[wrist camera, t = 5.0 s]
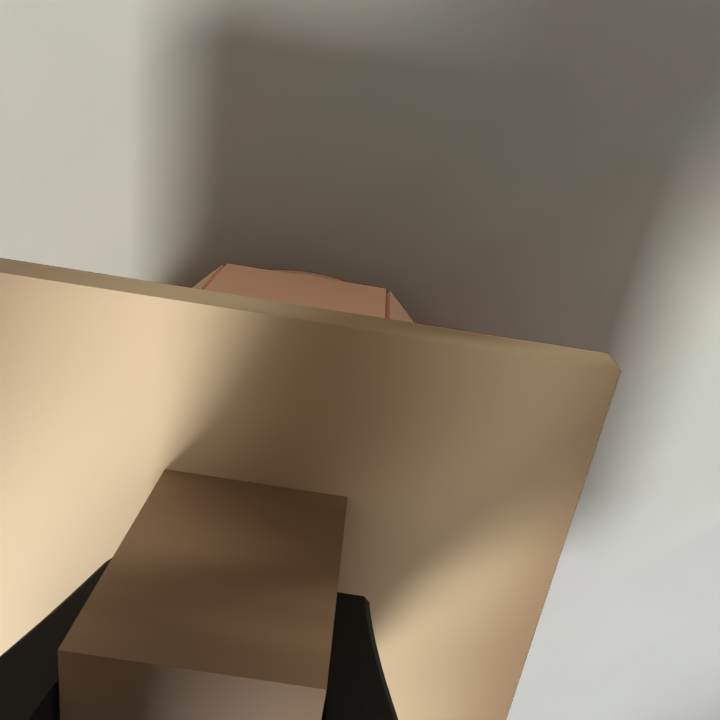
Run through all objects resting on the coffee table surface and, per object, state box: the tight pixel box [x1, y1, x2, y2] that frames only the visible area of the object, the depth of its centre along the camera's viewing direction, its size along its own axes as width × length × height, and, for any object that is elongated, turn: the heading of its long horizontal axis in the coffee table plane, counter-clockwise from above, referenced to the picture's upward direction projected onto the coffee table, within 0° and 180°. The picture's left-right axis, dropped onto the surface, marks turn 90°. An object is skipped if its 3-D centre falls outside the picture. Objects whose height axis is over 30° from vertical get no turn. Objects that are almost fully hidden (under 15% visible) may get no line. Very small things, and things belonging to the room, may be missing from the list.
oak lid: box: [0, 258, 621, 720], centre depth 11 cm, size 11×11×5 cm
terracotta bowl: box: [192, 263, 414, 323], centre depth 16 cm, size 9×9×4 cm
